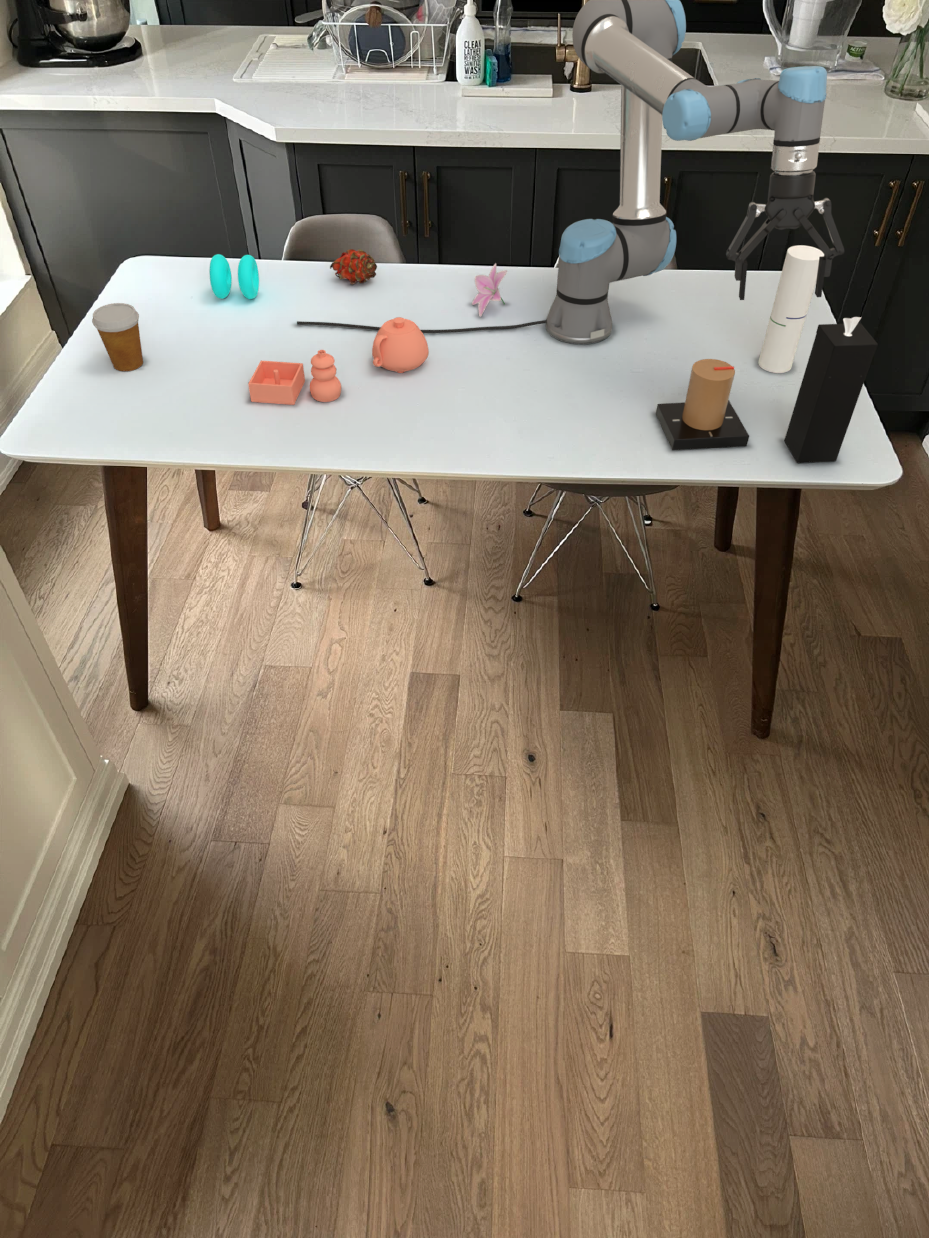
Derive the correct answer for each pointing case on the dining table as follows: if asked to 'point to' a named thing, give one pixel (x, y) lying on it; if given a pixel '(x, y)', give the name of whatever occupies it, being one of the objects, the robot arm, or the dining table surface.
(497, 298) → the lily
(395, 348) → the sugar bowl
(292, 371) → the terracotta box and gourd
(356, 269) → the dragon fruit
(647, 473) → the dining table surface
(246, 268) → the donuts
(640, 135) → the robot arm
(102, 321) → the disposable coffee cup
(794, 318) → the cylindrical container
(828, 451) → the tissue box
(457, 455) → the dining table surface
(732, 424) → the control knob panel
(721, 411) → the tan pointer knob
